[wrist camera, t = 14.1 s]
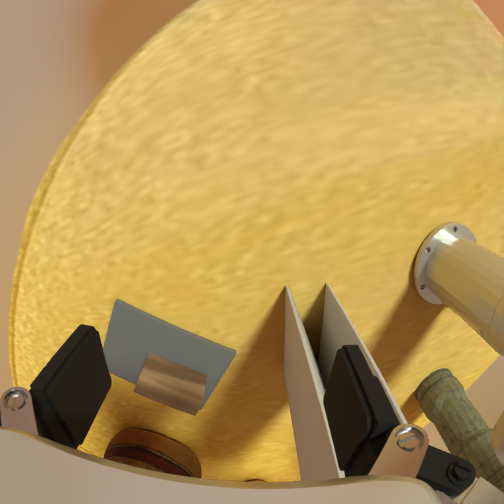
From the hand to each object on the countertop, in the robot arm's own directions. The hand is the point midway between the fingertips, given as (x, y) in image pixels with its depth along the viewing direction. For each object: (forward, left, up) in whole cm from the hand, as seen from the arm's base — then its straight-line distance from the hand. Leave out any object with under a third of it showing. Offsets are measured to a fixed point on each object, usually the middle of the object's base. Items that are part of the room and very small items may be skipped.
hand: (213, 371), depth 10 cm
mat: (+1, +23, -25) cm, 34 cm away
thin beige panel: (-15, +9, -25) cm, 31 cm away
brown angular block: (-1, +24, -24) cm, 34 cm away
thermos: (-48, +11, -25) cm, 55 cm away
